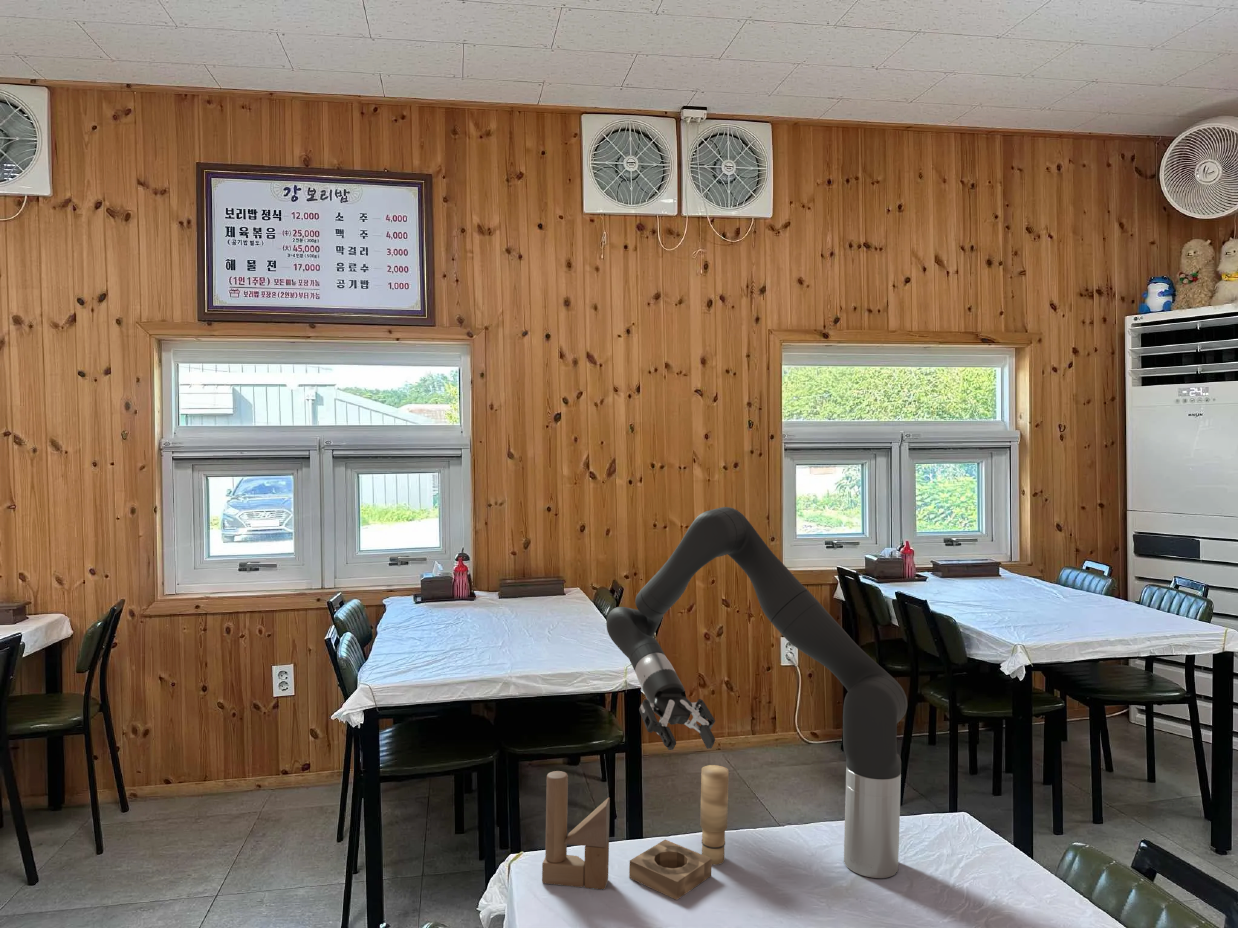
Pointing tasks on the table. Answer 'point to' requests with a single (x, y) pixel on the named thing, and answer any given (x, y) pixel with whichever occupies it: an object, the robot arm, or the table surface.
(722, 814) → the oak leg
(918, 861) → the table surface
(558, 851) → the wooden block
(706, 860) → the square wooden ring
